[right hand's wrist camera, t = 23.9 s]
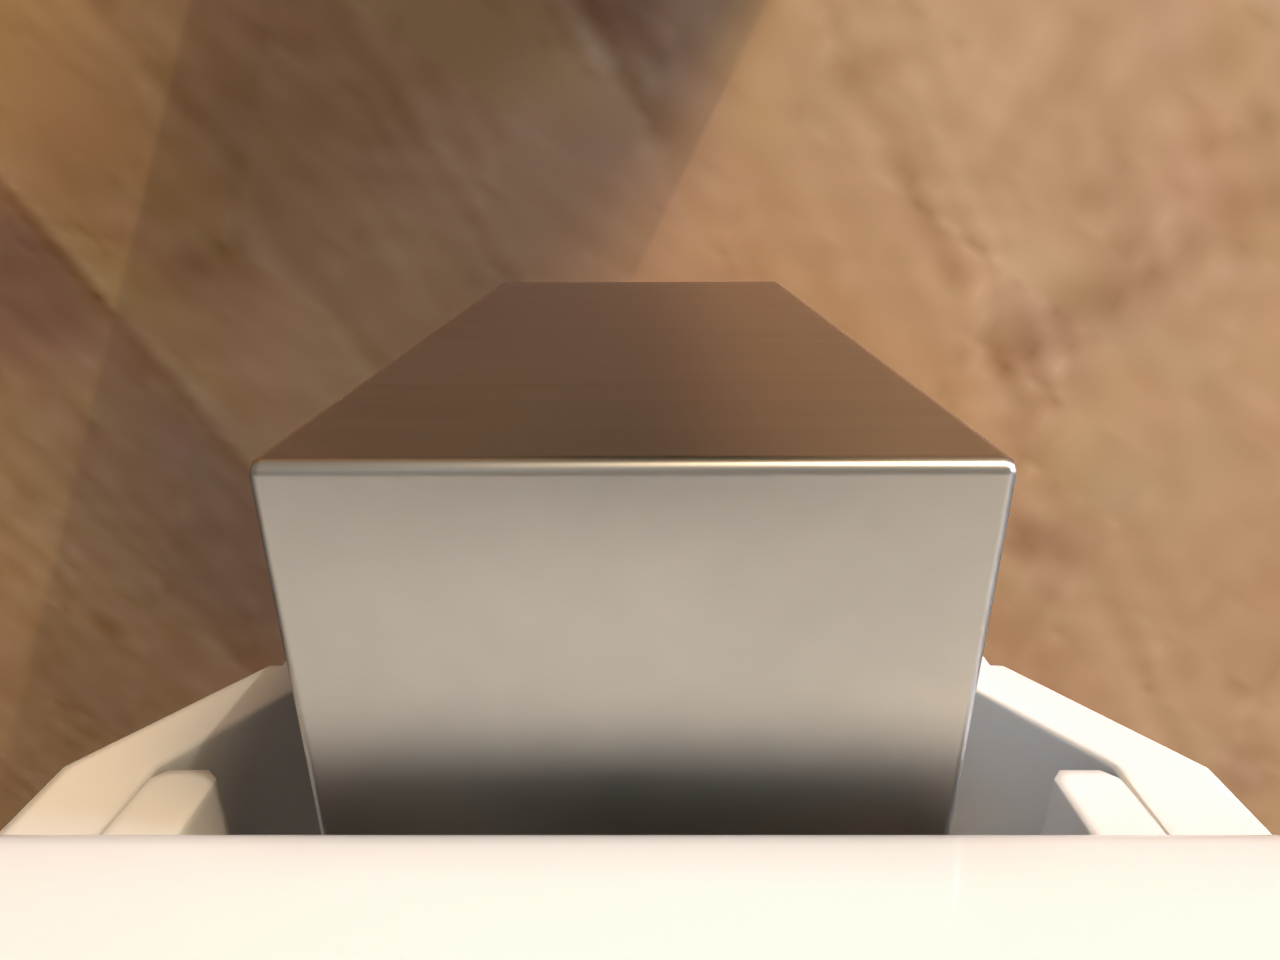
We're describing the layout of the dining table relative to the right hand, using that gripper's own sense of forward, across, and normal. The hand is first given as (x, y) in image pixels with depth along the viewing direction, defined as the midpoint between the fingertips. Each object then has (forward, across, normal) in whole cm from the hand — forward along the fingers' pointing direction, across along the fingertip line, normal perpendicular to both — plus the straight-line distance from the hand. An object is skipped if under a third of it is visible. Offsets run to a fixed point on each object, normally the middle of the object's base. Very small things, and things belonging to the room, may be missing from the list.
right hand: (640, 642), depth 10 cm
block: (+5, 0, 0) cm, 5 cm away
